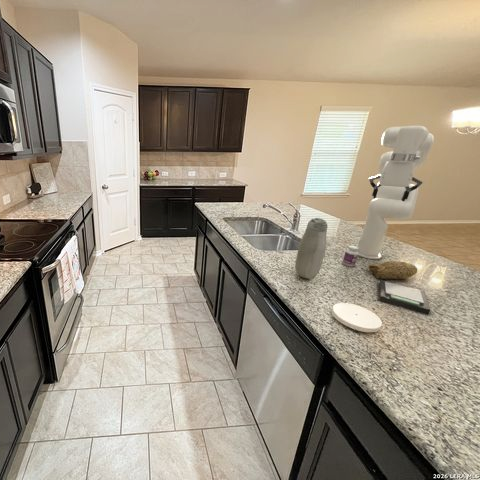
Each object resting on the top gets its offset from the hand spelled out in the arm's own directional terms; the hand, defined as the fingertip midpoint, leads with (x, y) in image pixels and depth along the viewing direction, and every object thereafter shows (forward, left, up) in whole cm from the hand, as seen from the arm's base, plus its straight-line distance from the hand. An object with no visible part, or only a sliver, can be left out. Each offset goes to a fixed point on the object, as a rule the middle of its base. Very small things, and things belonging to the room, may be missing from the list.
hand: (388, 199), depth 111 cm
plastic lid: (+49, -1, -36) cm, 61 cm away
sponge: (-2, +11, -36) cm, 37 cm away
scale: (+20, +13, -35) cm, 43 cm away
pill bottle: (-3, -6, -36) cm, 36 cm away
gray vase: (+25, -21, -36) cm, 49 cm away
